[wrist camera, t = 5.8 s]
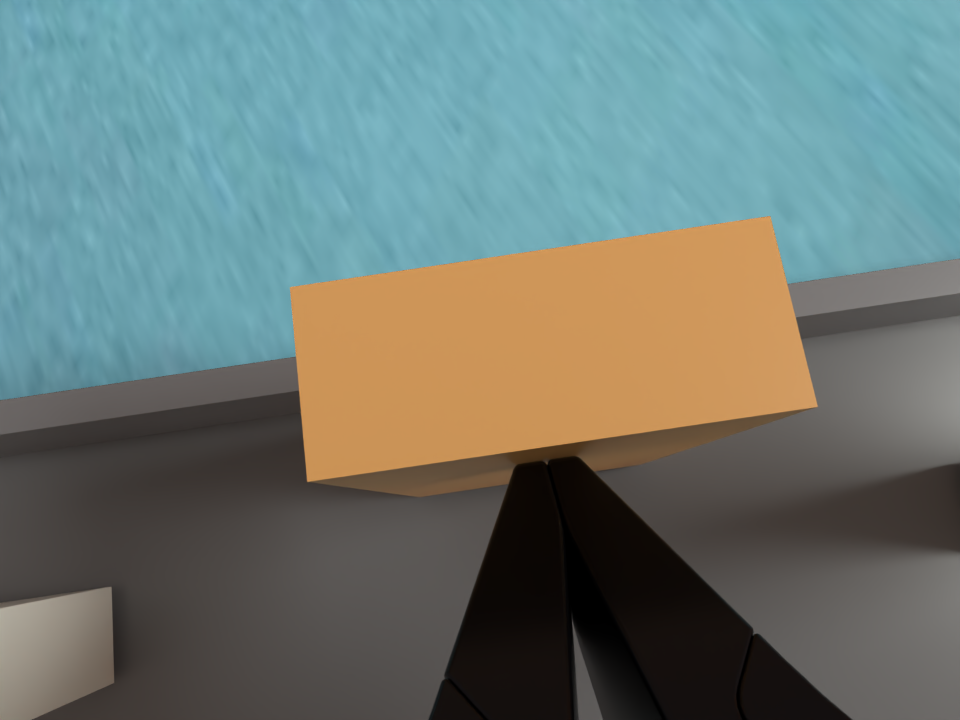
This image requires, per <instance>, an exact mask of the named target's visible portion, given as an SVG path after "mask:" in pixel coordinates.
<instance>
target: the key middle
mask: <svg viewBox="0 0 960 720" xmlns="http://www.w3.org/2000/svg"><path fill="white" fill-rule="evenodd" d="M290 293H291V304H292V315H293V326H294V338H295V349H296V360H297V372H298V383H299V394H300V406H301V417H302V428H303V440H304V451H305V462H306V473H307V482H312V483H319V484H326V485H334V486H341V487H348V488H356V489H363V490H370V491H377V492H385V493H392V494H399V495H407V496H414V497H424V496H431V495H438V494H445V493H451V492H458V491H465V490H472V489H479V488H485V487H492V486H499V485H506V484H509V481H510V478H511V475H512V472H513V469H514V468H515V466H516V465H518V464H523V463H529V462H536V461H544V462H545V463H546V464H548V461H549V460H551V459H557V458H563V457H570V456H577V457H579V458H581V459H582V460H583V461H584V462H585V463H586V464H587V465H588V466H589V467H590V468H591V469H592V470H593V471H601V470H608V469H615V468H622V467H628V466H635V465H641V464H644V463H647V462H650V461H653V460H656V459H660V458H663V457H666V456H669V455H672V454H675V453H678V452H681V451H684V450H687V449H690V448H693V447H696V446H699V445H702V444H706V443H709V442H712V441H715V440H718V439H721V438H724V437H727V436H730V435H733V434H736V433H739V432H742V431H745V430H748V429H752V428H755V427H758V426H761V425H764V424H767V423H770V422H773V421H776V420H779V419H782V418H785V417H788V416H791V415H794V414H798V413H801V412H804V411H807V410H810V409H813V408H816V407H818V405H817V401H816V397H815V393H814V389H813V385H812V381H811V377H810V373H809V369H808V365H807V361H806V357H805V353H804V349H803V345H802V341H801V337H800V333H799V329H798V325H797V321H796V317H795V313H794V309H793V305H792V301H791V297H790V293H789V289H788V285H787V281H786V277H785V273H784V269H783V265H782V261H781V257H780V253H779V249H778V245H777V241H776V237H775V233H774V229H773V225H772V221H771V217H770V216H768V217H761V218H754V219H747V220H741V221H734V222H727V223H720V224H714V225H707V226H700V227H693V228H687V229H680V230H673V231H666V232H660V233H653V234H646V235H639V236H633V237H626V238H619V239H612V240H606V241H599V242H592V243H585V244H579V245H572V246H565V247H558V248H552V249H545V250H538V251H531V252H525V253H518V254H511V255H504V256H498V257H491V258H484V259H477V260H471V261H464V262H457V263H450V264H444V265H437V266H430V267H423V268H417V269H410V270H403V271H396V272H390V273H383V274H376V275H369V276H363V277H356V278H349V279H342V280H336V281H329V282H322V283H315V284H309V285H302V286H295V287H290Z"/></svg>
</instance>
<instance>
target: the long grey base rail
mask: <svg viewBox="0 0 960 720" xmlns="http://www.w3.org/2000/svg"><path fill="white" fill-rule="evenodd" d="M787 285H788V289H789V293H790V297H791V301H792V305H793V309H794V313H795V317H796V321H797V325H798V329H799V333H800V337H801V341H802V345H803V349H804V353H805V357H806V361H807V365H808V369H809V373H810V377H811V381H812V385H813V389H814V393H815V397H816V401H817V405H818V407H816V408H813V409H810V410H807V411H804V412H801V413H798V414H794V415H791V416H788V417H785V418H782V419H779V420H776V421H773V422H770V423H767V424H764V425H761V426H758V427H755V428H752V429H748V430H745V431H742V432H739V433H736V434H733V435H730V436H727V437H724V438H721V439H718V440H715V441H712V442H709V443H706V444H702V445H699V446H696V447H693V448H690V449H687V450H684V451H681V452H678V453H675V454H672V455H669V456H666V457H663V458H660V459H656V460H653V461H650V462H647V463H644V464H641V465H635V466H628V467H622V468H615V469H608V470H601V471H594V472H595V473H596V474H597V475H598V476H599V477H600V478H601V479H602V480H603V481H604V482H605V483H606V484H607V485H608V486H609V487H610V488H611V489H612V490H613V491H614V492H615V493H616V494H617V495H618V496H619V497H620V498H621V499H622V500H623V501H624V502H625V503H626V504H628V505H629V506H630V507H631V508H632V509H633V510H634V511H635V512H636V513H637V514H638V515H639V516H640V517H641V518H642V519H643V520H644V521H645V522H646V523H647V524H648V525H649V526H650V527H651V528H652V529H653V530H654V531H655V532H656V533H657V534H658V535H659V536H660V537H661V538H662V539H663V540H664V541H665V542H666V543H667V544H668V545H669V546H670V547H671V548H672V549H673V550H674V551H675V552H676V553H677V554H678V555H679V556H680V557H681V558H682V559H683V560H685V561H686V562H687V563H688V564H689V565H690V566H691V567H692V568H693V569H694V570H695V571H696V572H697V573H698V574H699V575H700V576H701V577H702V578H703V579H704V580H705V581H706V582H707V583H708V584H709V585H710V586H711V587H712V588H713V589H714V590H715V591H716V592H717V593H718V594H719V595H720V596H721V597H722V598H723V599H724V600H725V601H726V602H727V603H728V604H729V605H730V606H731V607H732V608H733V609H734V610H735V611H736V612H737V613H738V614H739V615H740V616H742V617H743V618H744V619H745V620H746V621H747V622H748V623H749V624H750V625H751V626H752V627H753V629H754V634H757V633H758V634H760V635H761V636H762V637H763V638H764V639H765V640H766V641H767V642H768V643H769V644H770V645H771V646H772V647H773V648H774V649H775V650H776V651H777V652H778V653H779V654H780V655H781V656H782V657H783V658H784V659H785V660H787V661H788V662H789V663H790V664H791V665H792V666H793V667H794V668H795V669H796V670H797V671H798V672H799V673H801V674H802V675H803V676H804V677H805V678H806V679H807V680H808V681H809V682H810V683H811V684H812V685H813V686H814V687H816V688H817V689H818V690H819V691H820V692H821V693H822V694H823V695H824V696H825V697H827V698H828V699H829V700H830V701H831V702H833V703H834V704H835V705H836V706H837V707H838V708H840V709H841V710H842V711H843V712H844V713H846V714H847V715H848V716H849V717H850V718H852V719H853V720H960V259H955V260H948V261H941V262H934V263H928V264H921V265H914V266H907V267H900V268H894V269H887V270H880V271H873V272H867V273H860V274H853V275H846V276H840V277H833V278H826V279H819V280H812V281H806V282H799V283H792V284H787ZM507 487H508V484H506V485H499V486H492V487H485V488H479V489H472V490H465V491H458V492H451V493H445V494H438V495H431V496H424V497H414V496H407V495H399V494H392V493H385V492H377V491H370V490H363V489H356V488H348V487H341V486H334V485H326V484H319V483H312V482H307V473H306V462H305V451H304V440H303V428H302V417H301V406H300V394H299V383H298V372H297V360H296V357H291V358H284V359H278V360H271V361H264V362H257V363H250V364H244V365H237V366H230V367H223V368H217V369H210V370H203V371H196V372H190V373H183V374H176V375H169V376H162V377H156V378H149V379H142V380H135V381H129V382H122V383H115V384H108V385H102V386H95V387H88V388H81V389H74V390H68V391H61V392H54V393H47V394H41V395H34V396H27V397H20V398H14V399H7V400H0V603H2V602H9V601H16V600H23V599H30V598H37V597H43V596H50V595H57V594H64V593H71V592H78V591H84V590H91V589H98V588H105V587H112V619H113V655H114V683H113V684H111V685H108V686H106V687H104V688H102V689H99V690H97V691H95V692H93V693H90V694H88V695H86V696H84V697H81V698H79V699H77V700H75V701H72V702H70V703H68V704H66V705H63V706H61V707H59V708H57V709H54V710H52V711H50V712H48V713H45V714H43V715H41V716H39V717H36V718H34V719H32V720H428V718H429V716H430V713H431V711H432V708H433V705H434V702H435V699H436V696H437V693H438V690H439V687H440V684H441V681H442V680H444V679H445V677H444V673H445V670H446V667H447V664H448V661H449V658H450V655H451V652H452V650H453V647H454V644H455V641H456V638H457V635H458V632H459V629H460V626H461V623H462V620H463V617H464V614H465V611H466V608H467V605H468V602H469V599H470V596H471V593H472V590H473V587H474V584H475V582H476V579H477V576H478V573H479V570H480V567H481V564H482V561H483V558H484V555H485V552H486V549H487V546H488V543H489V540H490V537H491V534H492V531H493V528H494V525H495V522H496V519H497V516H498V513H499V511H500V508H501V505H502V502H503V499H504V496H505V493H506V490H507ZM572 626H573V637H574V650H575V665H576V681H577V696H578V711H579V720H603V718H602V715H601V712H600V708H599V705H598V702H597V699H596V696H595V693H594V690H593V687H592V684H591V680H590V677H589V674H588V671H587V668H586V665H585V662H584V659H583V656H582V653H581V649H580V646H579V643H578V640H577V636H576V633H575V629H574V625H573V621H572Z"/></svg>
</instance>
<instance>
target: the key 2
mask: <svg viewBox="0 0 960 720" xmlns="http://www.w3.org/2000/svg"><path fill="white" fill-rule="evenodd" d="M113 683H114V655H113V619H112V587H105V588H98V589H91V590H84V591H78V592H71V593H64V594H57V595H50V596H43V597H37V598H30V599H23V600H16V601H9V602H2V603H0V720H32V719H34V718H36V717H39V716H41V715H43V714H45V713H48V712H50V711H52V710H54V709H57V708H59V707H61V706H63V705H66V704H68V703H70V702H72V701H75V700H77V699H79V698H81V697H84V696H86V695H88V694H90V693H93V692H95V691H97V690H99V689H102V688H104V687H106V686H108V685H111V684H113Z"/></svg>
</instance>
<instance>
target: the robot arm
mask: <svg viewBox="0 0 960 720" xmlns="http://www.w3.org/2000/svg"><path fill="white" fill-rule="evenodd" d="M572 621H573V625H574V629H575V633H576V636H577V640H578V643H579V646H580V649H581V653H582V656H583V659H584V662H585V665H586V668H587V671H588V674H589V677H590V680H591V684H592V687H593V690H594V693H595V696H596V699H597V702H598V705H599V708H600V712H601V715H602V718H603V720H853V719H852V718H850V717H849V716H848V715H847V714H846V713H844V712H843V711H842V710H841V709H840V708H838V707H837V706H836V705H835V704H834V703H833V702H831V701H830V700H829V699H828V698H827V697H825V696H824V695H823V694H822V693H821V692H820V691H819V690H818V689H817V688H816V687H814V686H813V685H812V684H811V683H810V682H809V681H808V680H807V679H806V678H805V677H804V676H803V675H802V674H801V673H799V672H798V671H797V670H796V669H795V668H794V667H793V666H792V665H791V664H790V663H789V662H788V661H787V660H785V659H784V658H783V657H782V656H781V655H780V654H779V653H778V652H777V651H776V650H775V649H774V648H773V647H772V646H771V645H770V644H769V643H768V642H767V641H766V640H765V639H764V638H763V637H762V636H761V635H760V634H758V633H757V634H754V629H753V627H752V626H751V625H750V624H749V623H748V622H747V621H746V620H745V619H744V618H743V617H742V616H740V615H739V614H738V613H737V612H736V611H735V610H734V609H733V608H732V607H731V606H730V605H729V604H728V603H727V602H726V601H725V600H724V599H723V598H722V597H721V596H720V595H719V594H718V593H717V592H716V591H715V590H714V589H713V588H712V587H711V586H710V585H709V584H708V583H707V582H706V581H705V580H704V579H703V578H702V577H701V576H700V575H699V574H698V573H697V572H696V571H695V570H694V569H693V568H692V567H691V566H690V565H689V564H688V563H687V562H686V561H685V560H683V559H682V558H681V557H680V556H679V555H678V554H677V553H676V552H675V551H674V550H673V549H672V548H671V547H670V546H669V545H668V544H667V543H666V542H665V541H664V540H663V539H662V538H661V537H660V536H659V535H658V534H657V533H656V532H655V531H654V530H653V529H652V528H651V527H650V526H649V525H648V524H647V523H646V522H645V521H644V520H643V519H642V518H641V517H640V516H639V515H638V514H637V513H636V512H635V511H634V510H633V509H632V508H631V507H630V506H629V505H628V504H626V503H625V502H624V501H623V500H622V499H621V498H620V497H619V496H618V495H617V494H616V493H615V492H614V491H613V490H612V489H611V488H610V487H609V486H608V485H607V484H606V483H605V482H604V481H603V480H602V479H601V478H600V477H599V476H598V475H597V474H596V473H595V472H594V471H593V470H592V469H591V468H590V467H589V466H588V465H587V464H586V463H585V462H584V461H583V460H582V459H581V458H579V457H577V456H570V457H563V458H557V459H551V460H549V461H548V464H546V463H545V462H544V461H536V462H529V463H523V464H518V465H516V466H515V468H514V469H513V472H512V475H511V478H510V481H509V484H508V487H507V490H506V493H505V496H504V499H503V502H502V505H501V508H500V511H499V513H498V516H497V519H496V522H495V525H494V528H493V531H492V534H491V537H490V540H489V543H488V546H487V549H486V552H485V555H484V558H483V561H482V564H481V567H480V570H479V573H478V576H477V579H476V582H475V584H474V587H473V590H472V593H471V596H470V599H469V602H468V605H467V608H466V611H465V614H464V617H463V620H462V623H461V626H460V629H459V632H458V635H457V638H456V641H455V644H454V647H453V650H452V652H451V655H450V658H449V661H448V664H447V667H446V670H445V673H444V677H445V679H444V680H442V681H441V684H440V687H439V690H438V693H437V696H436V699H435V702H434V705H433V708H432V711H431V713H430V716H429V718H428V720H579V711H578V696H577V681H576V665H575V650H574V637H573V626H572Z"/></svg>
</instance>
